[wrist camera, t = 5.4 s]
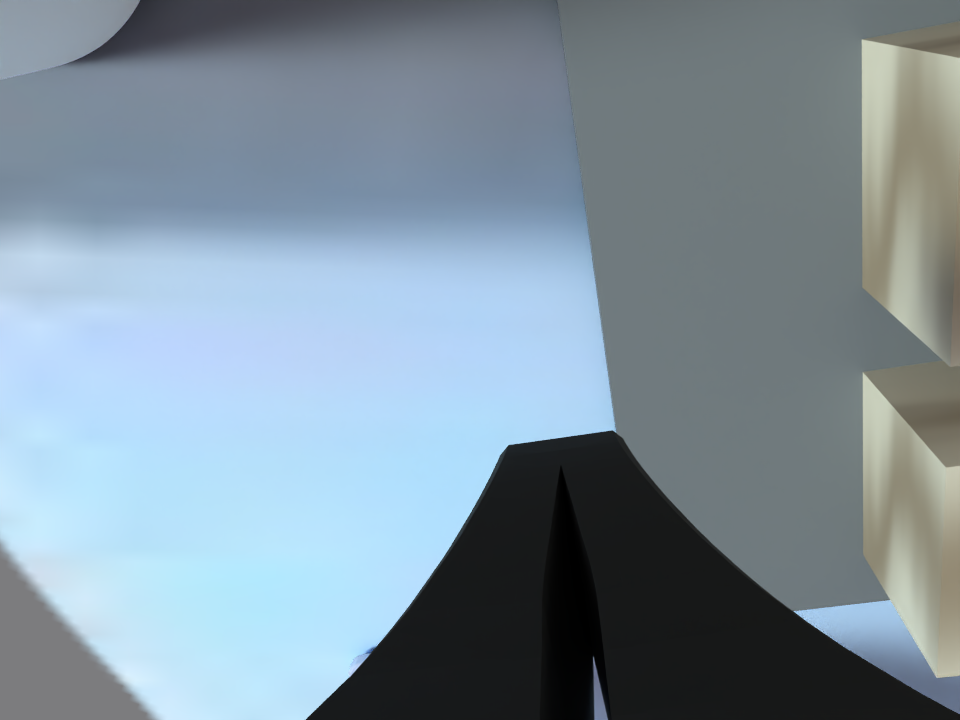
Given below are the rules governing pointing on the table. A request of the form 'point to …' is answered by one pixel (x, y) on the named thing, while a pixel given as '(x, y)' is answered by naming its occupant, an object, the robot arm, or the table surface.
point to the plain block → (913, 181)
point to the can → (55, 31)
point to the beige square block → (915, 501)
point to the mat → (740, 265)
